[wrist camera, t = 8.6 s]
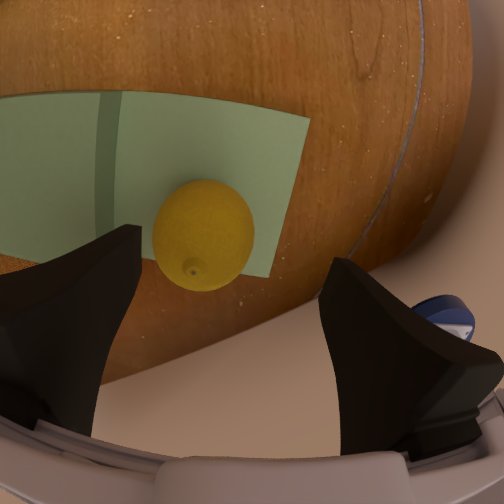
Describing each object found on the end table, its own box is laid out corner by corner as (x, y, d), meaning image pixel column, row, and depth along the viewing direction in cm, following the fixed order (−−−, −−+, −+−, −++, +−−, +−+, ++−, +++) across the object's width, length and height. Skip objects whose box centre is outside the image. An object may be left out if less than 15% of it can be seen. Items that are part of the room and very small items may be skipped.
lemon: (264, 179, 19) (276, 237, 12) (237, 251, 22) (235, 331, 15) (181, 155, 18) (143, 198, 11) (163, 229, 21) (128, 302, 14)
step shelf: (267, 272, 24) (274, 331, 18) (-69, 211, 19) (-102, 237, 13) (308, 117, 18) (337, 130, 12) (-78, 113, 13) (-117, 130, 7)
